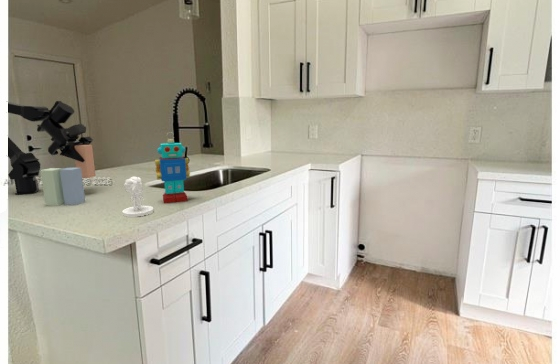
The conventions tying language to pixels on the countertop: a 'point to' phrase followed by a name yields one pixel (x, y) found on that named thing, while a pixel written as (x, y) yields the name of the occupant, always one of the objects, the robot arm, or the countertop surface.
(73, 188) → the slate post
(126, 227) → the countertop surface
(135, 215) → the figurine
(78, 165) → the terracotta post
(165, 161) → the toy robot
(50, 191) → the sage post
